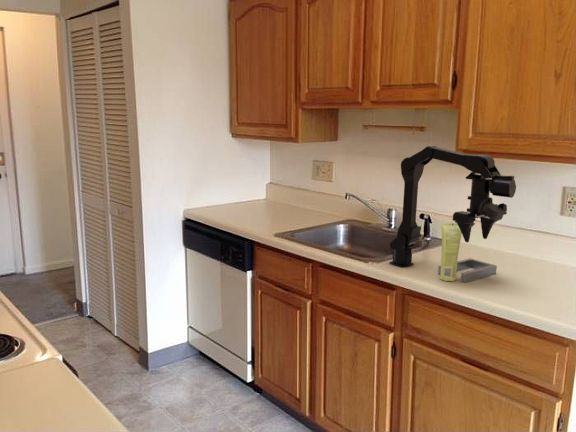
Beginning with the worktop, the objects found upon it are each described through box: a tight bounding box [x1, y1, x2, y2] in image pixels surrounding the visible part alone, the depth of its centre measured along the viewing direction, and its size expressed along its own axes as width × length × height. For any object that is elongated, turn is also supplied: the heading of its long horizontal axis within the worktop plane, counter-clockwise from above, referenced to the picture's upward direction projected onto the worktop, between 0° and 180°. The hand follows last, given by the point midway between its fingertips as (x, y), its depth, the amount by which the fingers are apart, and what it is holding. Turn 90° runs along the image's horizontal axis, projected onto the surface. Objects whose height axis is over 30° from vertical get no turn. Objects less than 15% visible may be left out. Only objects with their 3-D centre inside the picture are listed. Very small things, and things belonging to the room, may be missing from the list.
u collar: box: [437, 257, 498, 284], centre depth 185 cm, size 11×18×3 cm, turn 125°
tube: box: [439, 222, 462, 282], centre depth 177 cm, size 6×5×20 cm
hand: (476, 240), depth 175 cm, fingers open, 9 cm apart
